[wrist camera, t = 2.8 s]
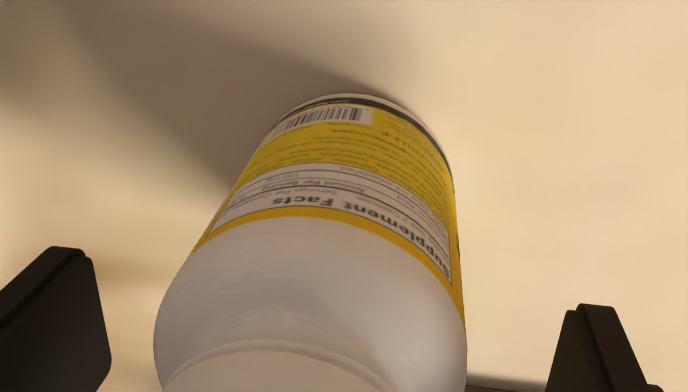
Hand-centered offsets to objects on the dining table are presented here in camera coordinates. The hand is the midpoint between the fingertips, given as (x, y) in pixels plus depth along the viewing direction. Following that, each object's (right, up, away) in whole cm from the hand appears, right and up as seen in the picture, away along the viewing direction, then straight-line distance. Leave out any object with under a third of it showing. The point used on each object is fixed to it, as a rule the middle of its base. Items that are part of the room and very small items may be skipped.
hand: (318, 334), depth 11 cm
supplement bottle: (+1, +3, +5) cm, 6 cm away
